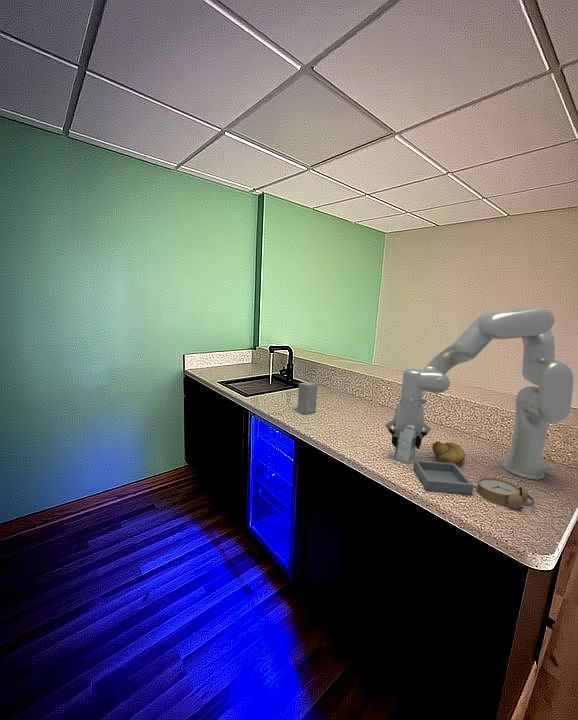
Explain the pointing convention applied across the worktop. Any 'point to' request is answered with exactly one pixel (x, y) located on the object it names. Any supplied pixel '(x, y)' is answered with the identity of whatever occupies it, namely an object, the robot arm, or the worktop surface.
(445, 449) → the bread roll
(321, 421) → the worktop surface
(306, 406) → the skincare box
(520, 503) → the alarm clock
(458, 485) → the tray
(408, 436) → the syrup box
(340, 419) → the worktop surface
